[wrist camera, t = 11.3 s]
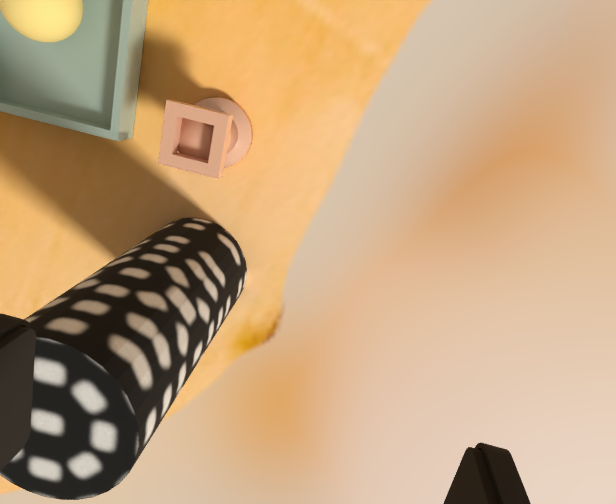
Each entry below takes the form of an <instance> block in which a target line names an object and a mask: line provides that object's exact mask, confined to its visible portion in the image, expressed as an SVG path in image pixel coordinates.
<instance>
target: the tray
mask: <svg viewBox="0 0 616 504" xmlns="http://www.w3.org/2000/svg"><path fill="white" fill-rule="evenodd" d="M147 7H148V0H83V16H82V20H81V23H80V25H79V27H78V28H77V30H76V31H75V32H74V33H73V34H72V35H71V36H69V37H68V38H66V39H64V40H61V41H58V42H39V41H35V40H32V39H30V38H28V37H26V36H24V35H22V34H21V33H19V32H18V31H17V30H15V29H14V28H13V27H12V26H11V25H10V24H9V23H8V22H7V20H6V19H5V17H4V16H3V14H2V12H1V10H0V111H1V112H5V113H9V114H13V115H17V116H21V117H24V118H28V119H32V120H36V121H40V122H44V123H48V124H52V125H56V126H60V127H64V128H68V129H72V130H76V131H80V132H83V133H87V134H91V135H95V136H99V137H103V138H107V139H111V140H115V141H121V140H126V139H131V138H133V130H134V121H135V113H136V104H137V95H138V86H139V77H140V69H141V60H142V51H143V42H144V33H145V24H146V16H147Z"/></svg>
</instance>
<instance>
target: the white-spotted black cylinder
mask: <svg viewBox="0 0 616 504" xmlns="http://www.w3.org/2000/svg"><path fill="white" fill-rule="evenodd" d="M246 274H247V268H246V261H245V258H244V255H243V252H242V250H241V248H240V246H239V245H238V243H237V241H236V240H235V239H234V238H233V237H232V236H231V234H230V233H228V232H227V231H226V230H225V229H223V228H222V227H220V226H218V225H217V224H215V223H213V222H210V221H207V220H204V219H197V218H185V219H180V220H176V221H173V222H171V223H170V224H168V225H166V226H164V227H163V228H161V229H160V230H158V231H157V232H155V233H154V234H152V235H151V236H149V237H148V238H146V239H145V240H143V241H142V242H140V243H139V244H137V245H136V246H134V247H133V248H131V249H130V250H128V251H127V252H125V253H124V254H122V255H121V256H119V257H118V258H116V259H115V260H113V261H112V262H110V263H109V264H107V265H106V266H104V267H103V268H101V269H100V270H98V271H97V272H95V273H93V274H92V275H90V276H89V277H87V278H86V279H84V280H83V281H81V282H80V283H78V284H77V285H75V286H74V287H72V288H71V289H69V290H68V291H66V292H65V293H63V294H62V295H60V296H59V297H57V298H56V299H54V300H53V301H51V302H50V303H48V304H47V305H45V306H44V307H42V308H41V309H39V310H38V311H36V312H35V313H33V314H32V315H30V316H29V317H27V318H26V319H24V320H26V321H28V322H29V324H30V329H33V330H34V331H35V333H36V343H35V360H34V378H33V395H32V412H31V430H30V435H29V438H28V440H27V442H26V444H25V446H24V447H23V448H22V449H21V451H20V452H19V453H18V454H17V455H16V456H15V457H14V458H13V459H12V460H11V461H10V462H9V463H8V464H7V465H6V466H5V467H4V468H3V469H2V470H1V471H0V475H1V476H2V477H4V478H5V479H7V480H8V481H10V482H11V483H13V484H15V485H17V486H19V487H21V488H23V489H25V490H27V491H29V492H32V493H35V494H38V495H41V496H44V497H50V498H56V499H64V500H65V499H67V500H79V499H84V498H90V497H94V496H97V495H100V494H102V493H104V492H107V491H109V490H110V489H111V488H113V487H115V486H116V485H118V484H119V483H120V482H121V481H122V480H123V479H124V478H125V477H126V475H127V474H128V473H129V472H130V470H131V469H132V467H133V465H134V464H135V462H136V461H137V459H138V457H139V456H140V454H141V453H142V451H143V450H144V448H145V446H146V445H147V443H148V442H149V440H150V438H151V437H152V435H153V434H154V432H155V430H156V429H157V427H158V426H159V424H160V422H161V421H162V419H163V418H164V416H165V414H166V413H167V411H168V410H169V408H170V406H171V405H172V403H173V402H174V400H175V398H176V397H177V395H178V394H179V392H180V390H181V389H182V387H183V386H184V384H185V382H186V381H187V379H188V378H189V376H190V374H191V373H192V371H193V370H194V368H195V366H196V365H197V363H198V362H199V360H200V358H201V357H202V355H203V354H204V352H205V350H206V349H207V347H208V346H209V344H210V342H211V341H212V339H213V338H214V336H215V334H216V333H217V331H218V330H219V328H220V326H221V325H222V323H223V322H224V320H225V318H226V317H227V315H228V314H229V312H230V310H231V309H232V307H233V306H234V304H235V302H236V301H237V299H238V298H239V296H240V294H241V292H242V290H243V288H244V285H245V282H246Z"/></svg>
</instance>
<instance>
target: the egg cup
mask: <svg viewBox="0 0 616 504" xmlns="http://www.w3.org/2000/svg"><path fill="white" fill-rule="evenodd" d="M252 138H253V131H252V125H251V122H250V119H249V117H248V115H247V114H246V112H245V111H244V110H243V109H242V107H240V106H239V105H238V104H237V103H235V102H234V101H231V100H229V99H226V98H221V97H213V98H207V99H203V100H201V101H199V102H198V103H196V104H195V105H191V104H187V103H183V102H179V101H175V100H166V107H165V114H164V122H163V129H162V137H161V145H160V152H159V160H158V164H162V165H166V166H170V167H174V168H177V169H181V170H185V171H189V172H193V173H197V174H201V175H205V176H209V177H213V178H217V179H219V178H220V177H222V175H223V170H224V168H225V167H229V166H231V165H233V164H235V163H237V162H239V161H240V160H241V159H242V158H243V157H244V156H245V155H246V154H247V152H248V151H249V149H250V146H251V143H252ZM177 151H178V152H179V153H177Z"/></svg>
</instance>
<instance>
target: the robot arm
mask: <svg viewBox="0 0 616 504" xmlns="http://www.w3.org/2000/svg"><path fill="white" fill-rule="evenodd" d="M35 343H36V333H35V331H34V330H33V329H30V324H29V322H28V321H26V320H23V319H20V318H16V317H12V316H8V315H5V314H0V471H1V470H2V469H3V468H4V467H5V466H6V465H7V464H8V463H9V462H10V461H11V460H12V459H13V458H14V457H15V456H16V455H17V454H18V453H19V452H20V451H21V449H22V448H23V447H24V446H25V444H26V442H27V440H28V438H29V435H30V430H31V412H32V395H33V378H34V360H35ZM444 504H530V501H529V499H528V496H527V494H526V491H525V488H524V486H523V483H522V481H521V478H520V476H519V474H518V471H517V468H516V466H515V463H514V461H513V458H512V456H511V454H510V452H509V451H508V450H506V449H503V448H499V447H495V446H492V445H488V444H484V443H478V444H477V445H476V447H475V448H471V447H468V448H467V450H466V451H465V453H464V456H463V458H462V460H461V463H460V466H459V468H458V470H457V472H456V475H455V477H454V480H453V482H452V484H451V487H450V489H449V492H448V494H447V497H446V499H445V501H444Z"/></svg>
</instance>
